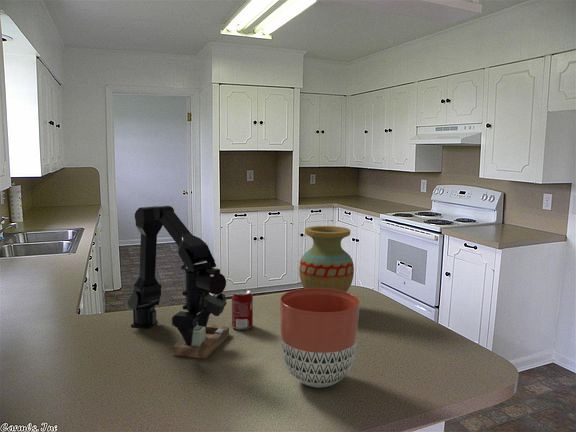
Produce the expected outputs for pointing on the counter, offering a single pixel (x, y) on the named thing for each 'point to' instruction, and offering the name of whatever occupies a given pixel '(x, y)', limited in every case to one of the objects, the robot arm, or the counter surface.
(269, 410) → the counter surface
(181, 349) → the socket block
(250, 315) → the soda can
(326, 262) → the vase
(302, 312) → the planter
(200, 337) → the plug
